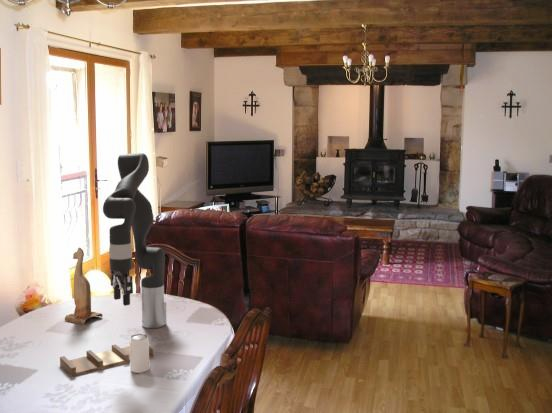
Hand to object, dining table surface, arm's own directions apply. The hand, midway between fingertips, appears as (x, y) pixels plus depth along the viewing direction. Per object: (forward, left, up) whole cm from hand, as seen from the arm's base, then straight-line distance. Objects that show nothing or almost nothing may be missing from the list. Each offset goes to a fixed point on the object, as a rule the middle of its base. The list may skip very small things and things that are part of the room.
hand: (121, 302), depth 212 cm
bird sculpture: (-7, -58, -24) cm, 63 cm away
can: (-4, +5, -24) cm, 25 cm away
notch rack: (+2, -9, -24) cm, 25 cm away
